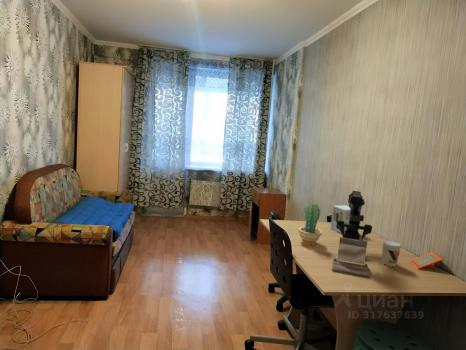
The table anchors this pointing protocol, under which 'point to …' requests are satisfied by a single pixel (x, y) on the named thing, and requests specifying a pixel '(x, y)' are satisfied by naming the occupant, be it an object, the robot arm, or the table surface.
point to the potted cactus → (310, 225)
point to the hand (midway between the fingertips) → (352, 240)
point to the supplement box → (340, 216)
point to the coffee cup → (390, 252)
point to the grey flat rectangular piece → (352, 250)
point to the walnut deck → (350, 268)
